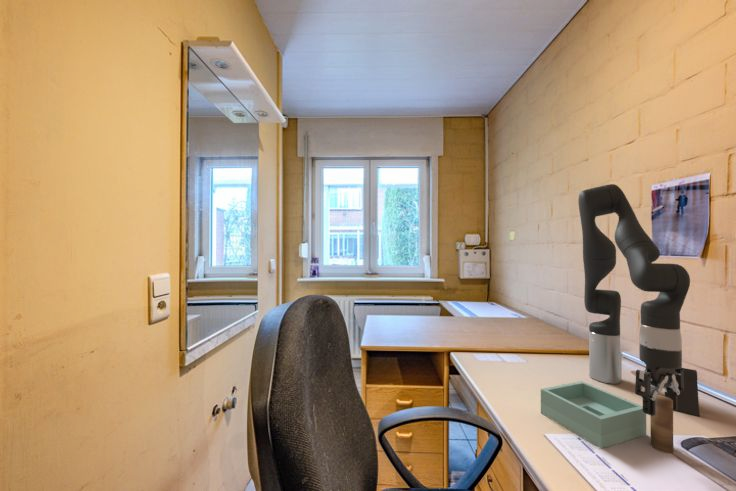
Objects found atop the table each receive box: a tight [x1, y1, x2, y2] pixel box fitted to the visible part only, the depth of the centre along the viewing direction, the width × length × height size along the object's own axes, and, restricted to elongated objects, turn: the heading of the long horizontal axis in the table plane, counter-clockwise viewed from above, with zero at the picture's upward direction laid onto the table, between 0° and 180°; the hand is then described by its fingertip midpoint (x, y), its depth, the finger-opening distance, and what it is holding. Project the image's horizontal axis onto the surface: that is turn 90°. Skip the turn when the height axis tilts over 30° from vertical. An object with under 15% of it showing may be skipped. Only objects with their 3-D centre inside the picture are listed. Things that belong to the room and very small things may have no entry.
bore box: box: [540, 380, 647, 449], centre depth 85 cm, size 17×17×7 cm
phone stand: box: [674, 367, 700, 417], centre depth 94 cm, size 9×6×12 cm, turn 139°
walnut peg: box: [650, 394, 674, 454], centre depth 74 cm, size 4×4×12 cm
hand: (660, 411), depth 74 cm, fingers open, 8 cm apart
